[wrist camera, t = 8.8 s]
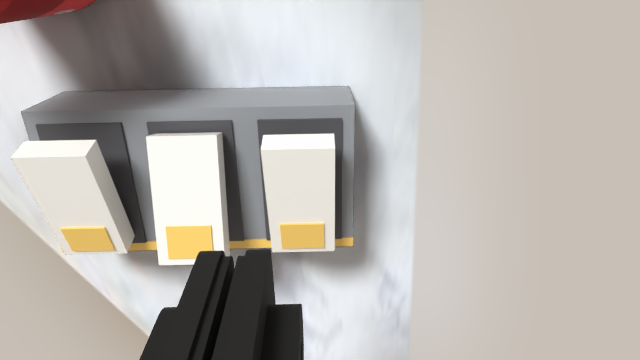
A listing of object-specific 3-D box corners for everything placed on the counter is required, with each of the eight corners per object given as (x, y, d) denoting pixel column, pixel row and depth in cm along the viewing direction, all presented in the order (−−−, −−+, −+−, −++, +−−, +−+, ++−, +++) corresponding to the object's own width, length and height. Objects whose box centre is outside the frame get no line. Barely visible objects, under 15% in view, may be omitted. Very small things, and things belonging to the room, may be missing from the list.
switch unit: (64, 91, 28) (18, 112, 24) (349, 85, 28) (355, 105, 24) (97, 220, 32) (63, 258, 28) (347, 215, 32) (352, 252, 28)
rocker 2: (155, 133, 24) (145, 136, 23) (222, 132, 24) (215, 135, 23) (167, 255, 26) (158, 266, 24) (230, 254, 26) (224, 264, 24)
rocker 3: (263, 134, 23) (260, 151, 22) (333, 133, 23) (335, 149, 22) (273, 235, 27) (272, 253, 26) (333, 234, 27) (334, 252, 26)
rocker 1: (24, 141, 23) (8, 159, 21) (96, 139, 23) (84, 157, 21) (75, 236, 27) (64, 256, 26) (134, 235, 27) (126, 254, 26)
